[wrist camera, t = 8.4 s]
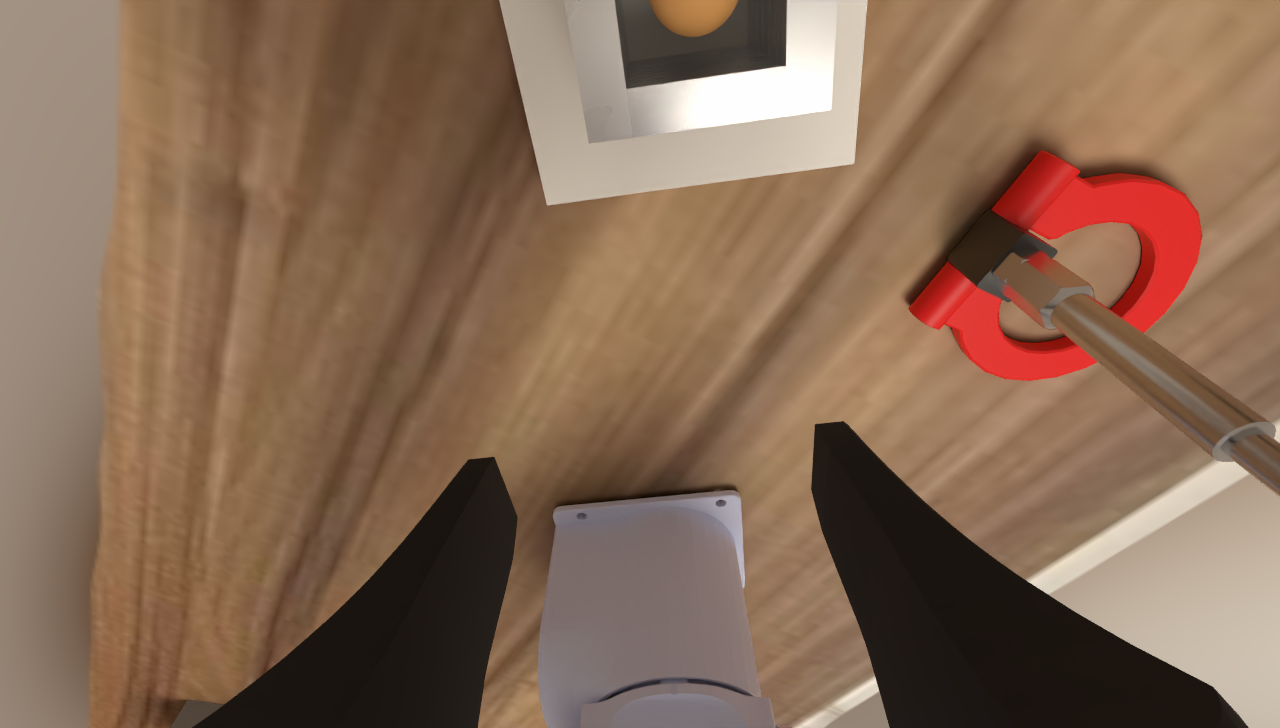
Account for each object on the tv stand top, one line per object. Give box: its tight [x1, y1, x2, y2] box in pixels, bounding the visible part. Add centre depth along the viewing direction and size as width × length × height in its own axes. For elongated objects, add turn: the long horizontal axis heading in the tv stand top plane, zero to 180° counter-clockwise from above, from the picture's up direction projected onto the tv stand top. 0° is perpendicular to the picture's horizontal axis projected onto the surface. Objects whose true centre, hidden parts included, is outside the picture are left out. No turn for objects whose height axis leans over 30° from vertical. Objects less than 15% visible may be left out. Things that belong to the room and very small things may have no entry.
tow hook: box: [909, 151, 1280, 497], centre depth 16 cm, size 8×13×9 cm
